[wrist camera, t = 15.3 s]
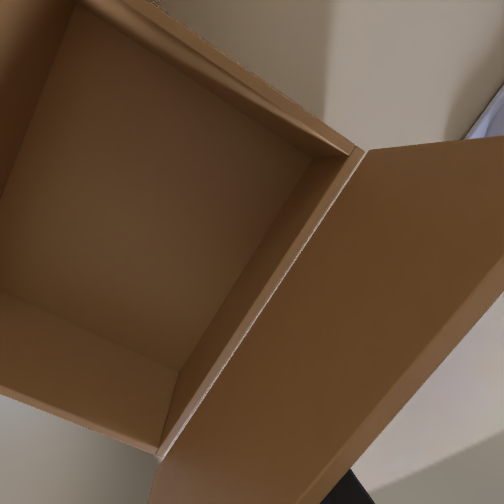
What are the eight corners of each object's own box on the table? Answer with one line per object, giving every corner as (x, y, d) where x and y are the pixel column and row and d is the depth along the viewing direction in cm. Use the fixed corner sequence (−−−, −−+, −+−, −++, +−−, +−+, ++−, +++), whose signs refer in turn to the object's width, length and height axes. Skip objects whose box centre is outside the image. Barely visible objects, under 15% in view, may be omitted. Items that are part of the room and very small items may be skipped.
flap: (618, 120, 3) (637, 139, 3) (369, 149, 9) (378, 155, 9) (80, 759, 6) (96, 761, 6) (155, 471, 12) (163, 474, 12)
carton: (75, -8, 13) (-36, -127, 8) (321, 156, 15) (365, 151, 10) (-34, 276, 16) (-165, 330, 11) (183, 375, 18) (162, 458, 13)
